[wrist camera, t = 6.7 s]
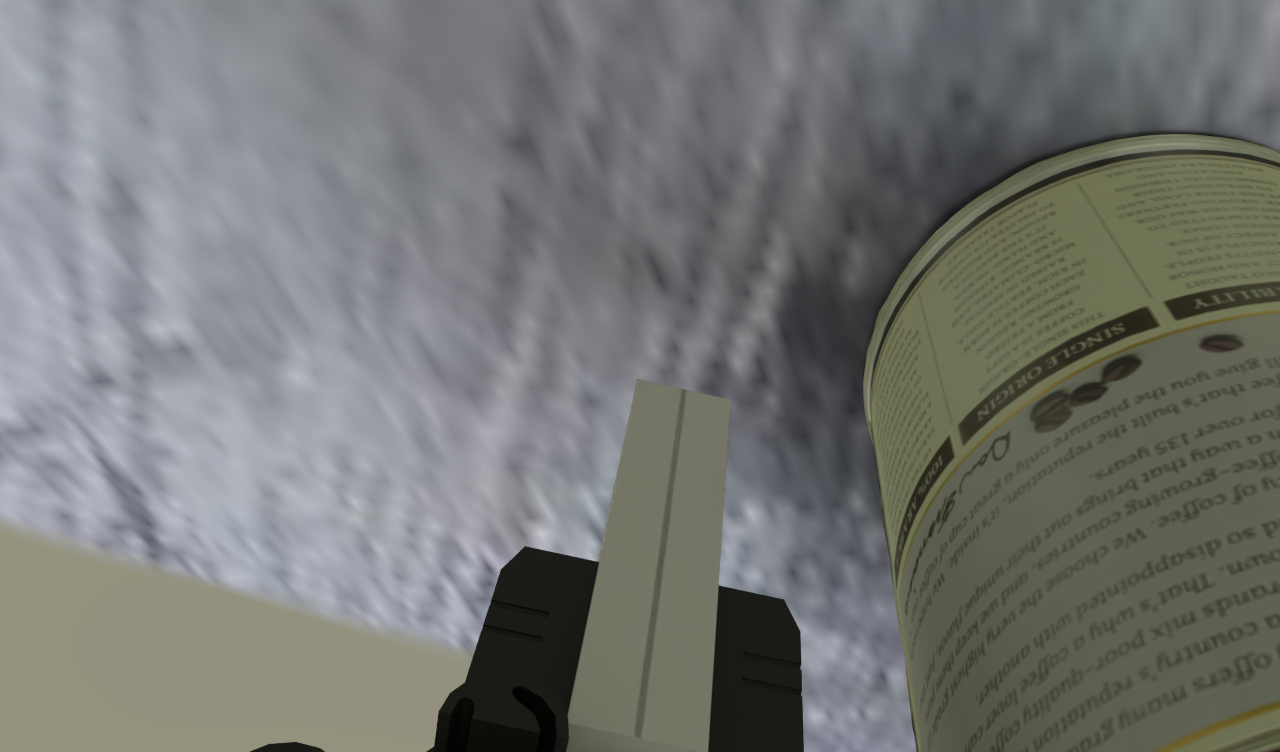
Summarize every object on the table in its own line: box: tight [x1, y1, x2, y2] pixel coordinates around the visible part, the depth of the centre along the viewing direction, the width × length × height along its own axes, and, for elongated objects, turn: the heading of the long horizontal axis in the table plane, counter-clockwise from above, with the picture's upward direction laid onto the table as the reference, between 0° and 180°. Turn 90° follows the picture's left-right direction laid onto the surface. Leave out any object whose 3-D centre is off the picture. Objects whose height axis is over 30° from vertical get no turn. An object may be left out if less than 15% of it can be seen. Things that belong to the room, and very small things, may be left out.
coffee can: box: [863, 134, 1280, 752], centre depth 16 cm, size 10×10×14 cm
